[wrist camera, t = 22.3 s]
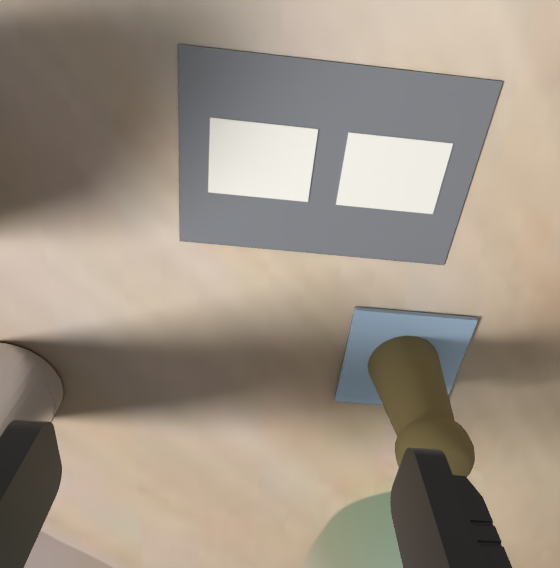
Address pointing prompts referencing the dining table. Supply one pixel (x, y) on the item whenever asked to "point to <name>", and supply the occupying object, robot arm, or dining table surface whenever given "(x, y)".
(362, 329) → the pad
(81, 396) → the dining table surface
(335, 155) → the label mat
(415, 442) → the cork
